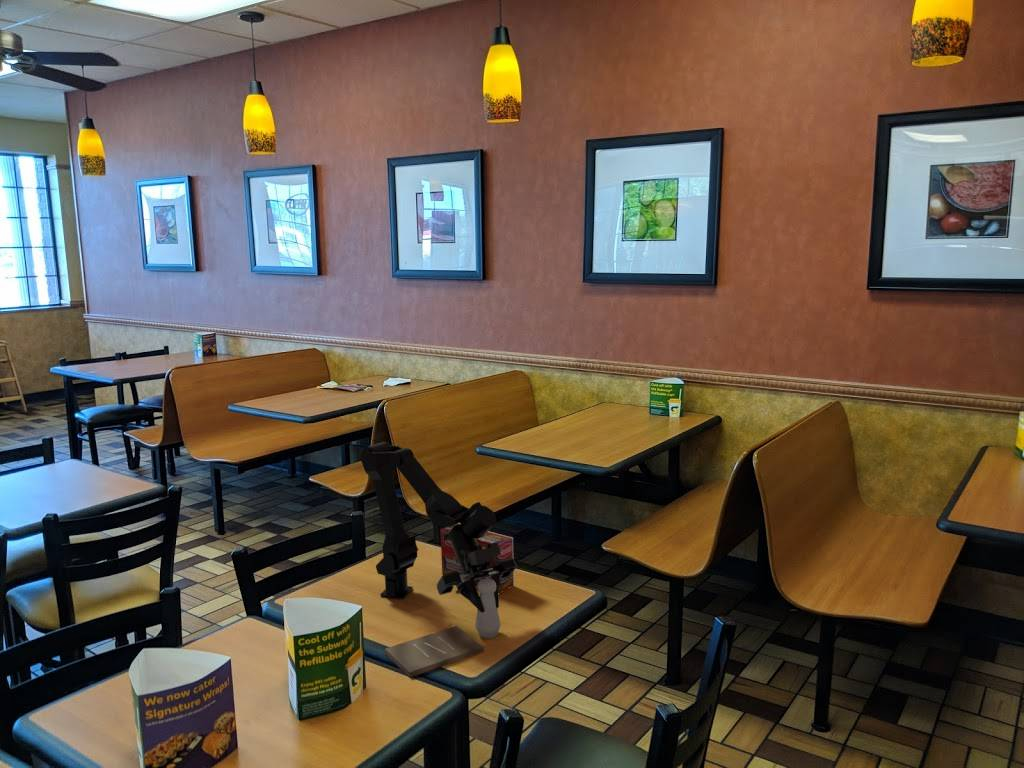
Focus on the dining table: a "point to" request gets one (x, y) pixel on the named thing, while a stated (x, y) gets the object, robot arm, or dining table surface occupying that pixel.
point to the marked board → (433, 651)
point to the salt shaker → (487, 610)
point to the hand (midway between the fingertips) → (490, 609)
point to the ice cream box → (489, 537)
